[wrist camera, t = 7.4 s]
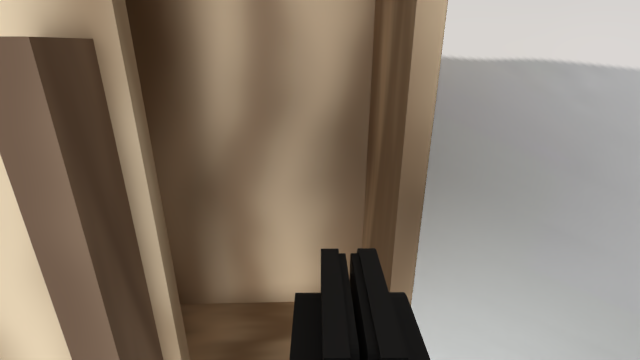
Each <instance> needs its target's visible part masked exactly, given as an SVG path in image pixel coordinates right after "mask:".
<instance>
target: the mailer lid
mask: <svg viewBox="0 0 640 360" xmlns="http://www.w3.org/2000/svg"><path fill="white" fill-rule="evenodd" d="M0 360H190V356H189V350H188V345H187V339H186V334H185V328H184V323H183V317H182V312H181V306H180V301H179V295H178V290H177V284H176V279H175V273H174V268H173V262H172V257H171V251H170V246H169V240H168V235H167V229H166V224H165V218H164V213H163V207H162V202H161V196H160V191H159V185H158V179H157V174H156V168H155V163H154V157H153V152H152V146H151V141H150V135H149V130H148V124H147V119H146V113H145V108H144V102H143V97H142V91H141V86H140V80H139V75H138V69H137V64H136V58H135V53H134V47H133V42H132V36H131V31H130V25H129V20H128V14H127V9H126V3H125V0H0Z"/></svg>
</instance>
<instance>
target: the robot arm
mask: <svg viewBox="0 0 640 360" xmlns="http://www.w3.org/2000/svg"><path fill="white" fill-rule="evenodd" d="M289 360H430V358H429V355H428V352H427V349H426V347H425V344H424V341H423V339H422V336H421V333H420V330H419V328H418V325H417V322H416V319H415V317H414V314H413V311H412V308H411V306H410V303H409V300H408V298H407V295H406V294H405V293H404V292H389V291H388V287H387V284H386V281H385V277H384V274H383V271H382V267H381V264H380V261H379V257H378V254H377V251H376V249H375V248H358V249H357V253H351V255H350V278H349V274H348V267H347V260H346V254H345V253H339V249H321V293H295V300H294V312H293V323H292V335H291V346H290V358H289Z"/></svg>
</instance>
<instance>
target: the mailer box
mask: <svg viewBox="0 0 640 360" xmlns="http://www.w3.org/2000/svg"><path fill="white" fill-rule="evenodd" d="M125 3H126V9H127V14H128V20H129V25H130V31H131V36H132V42H133V47H134V53H135V58H136V64H137V69H138V75H139V80H140V86H141V91H142V97H143V102H144V108H145V113H146V119H147V124H148V130H149V135H150V141H151V146H152V152H153V157H154V163H155V168H156V174H157V179H158V185H159V191H160V196H161V202H162V207H163V213H164V218H165V224H166V229H167V235H168V240H169V246H170V251H171V257H172V262H173V268H174V273H175V279H176V284H177V290H178V295H179V301H180V306H181V312H182V317H183V323H184V328H185V334H186V339H187V345H188V350H189V356H190V360H289V358H290V346H291V335H292V323H293V312H294V300H295V293H321V249H339V253H345V254H346V260H347V267H348V274H349V278H350V255H351V253H357V249H358V248H375V249H376V251H377V254H378V257H379V261H380V264H381V267H382V271H383V274H384V277H385V281H386V284H387V287H388V291H389V292H404V293H405V294H406V295H407V298H408V300H409V303H410V306H411V300H412V292H413V284H414V276H415V267H416V259H417V251H418V243H419V234H420V226H421V218H422V210H423V202H424V193H425V185H426V177H427V169H428V160H429V152H430V144H431V136H432V128H433V119H434V111H435V103H436V95H437V86H438V78H439V70H440V62H441V54H442V44H443V37H444V29H445V21H446V12H447V4H448V0H125Z"/></svg>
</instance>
